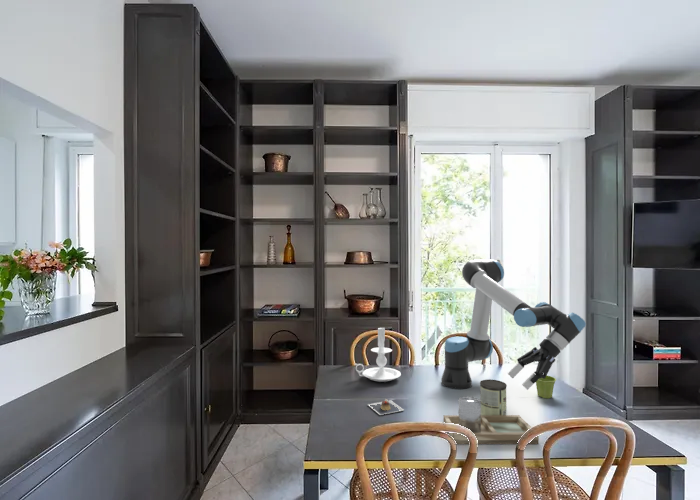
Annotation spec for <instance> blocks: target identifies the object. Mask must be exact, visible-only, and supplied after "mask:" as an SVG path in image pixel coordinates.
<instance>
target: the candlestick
mask: <svg viewBox="0 0 700 500" xmlns="http://www.w3.org/2000/svg"><path fill="white" fill-rule="evenodd" d="M385 334H386V328H385V327H381V326H380V327H378V328H377V346H378V347H373V348H371V349H370V351H371V352H373V353H376V354H377V357H376V360H375V362H376V365H377V367H370V368H367V369H365V366H364V365H363V363H354V365H355V371H356V372H357V373H358V375H359V376H360V377H365V378H368V379H369V380H371V381H374V382H379V383H381V382H384V383H386V382H390V381H394V380H396V379H397V378H399V377H401V375H402V374H401V371H399V370H397V369H395V368H391V367H385V366H386V365H387V363H388V360H387V357H386V356H385V355H386V354H389V353H391V352H393V349H391V348H389V347H385V341H386V339H385V338H386V336H385ZM359 366H361V367H362V369H361V370H358V367H359Z"/></svg>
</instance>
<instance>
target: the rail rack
mask: <svg viewBox="0 0 700 500" xmlns="http://www.w3.org/2000/svg"><path fill="white" fill-rule="evenodd" d="M443 422H445V423H454V424H459V414H453V415H449V414H448V415H443ZM531 427H532V426H531V425H530V424H529V423H528V422H527V421H526V420H525V419H524V418H523V417H522V416H520V415H519V414H515V415H513V414H506V415H481V432H480V433H474V434H475V436H476V438H477V440H478V444H477V445H518V444H517V442H518V440H519V439H520V438H521V436H522V435H523V434H524V433H525V432H526V431H527V430H528V429H530V428H531ZM448 435H449V436H450V435H451V436H452V437H453V438H454V440H455V441H456V443H457V444H456V445H470V444H469V441H468V439H467V437H465V436H463V435H461V434H457V433H448ZM539 437H540V435H539V436H537V437H535V438H534V439H533V440H532V441H531V442H530V443H529V444H528V445H539V444H540V443H539V442H540V441H539V440H540V438H539Z"/></svg>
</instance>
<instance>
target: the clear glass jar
mask: <svg viewBox="0 0 700 500" xmlns="http://www.w3.org/2000/svg"><path fill="white" fill-rule="evenodd" d="M458 415H459V425H461V426H464V427H466V428H468V429H470V430H471V431H472V432H473V433H480V432H481V401H480V399H479V398H478V397H474V396H460V397H459V398H458Z"/></svg>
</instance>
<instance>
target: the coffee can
mask: <svg viewBox="0 0 700 500" xmlns="http://www.w3.org/2000/svg"><path fill="white" fill-rule="evenodd" d="M479 385H480V390H479V392H480V395H479V397H480V399H479V400H480V401H481V415H507V383H505V382H504V381H500V380H497V379H483V380H480V382H479Z"/></svg>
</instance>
